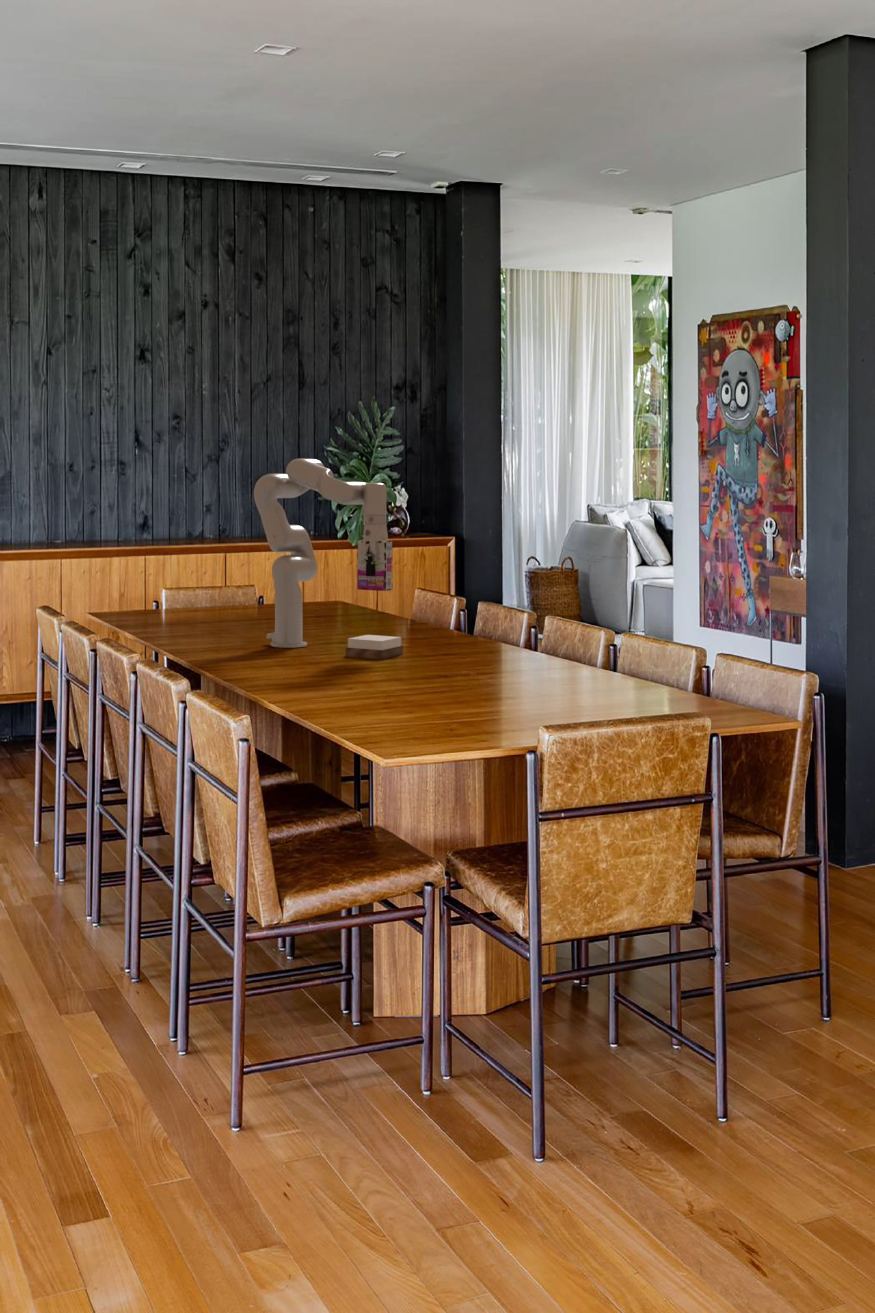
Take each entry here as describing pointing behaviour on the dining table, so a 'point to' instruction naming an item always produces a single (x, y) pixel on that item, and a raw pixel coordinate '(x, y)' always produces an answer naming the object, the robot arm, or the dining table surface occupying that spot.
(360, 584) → the candy bar box
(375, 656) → the walnut base block
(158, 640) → the dining table surface
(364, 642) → the cream top block
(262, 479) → the robot arm
